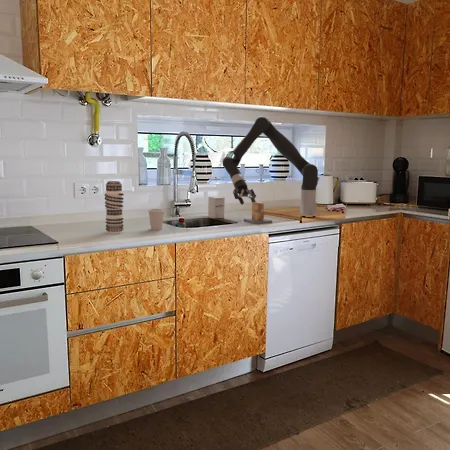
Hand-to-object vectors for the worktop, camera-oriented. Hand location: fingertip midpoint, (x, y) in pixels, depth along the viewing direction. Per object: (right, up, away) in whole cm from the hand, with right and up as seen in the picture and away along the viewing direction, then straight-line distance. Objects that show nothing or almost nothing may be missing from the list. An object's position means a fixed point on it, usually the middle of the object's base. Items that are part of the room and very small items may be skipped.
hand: (248, 203), depth 281 cm
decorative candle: (-69, -17, -51) cm, 87 cm away
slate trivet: (+5, -11, -9) cm, 15 cm away
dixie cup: (-50, -15, -40) cm, 66 cm away
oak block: (+5, -10, -9) cm, 14 cm away
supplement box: (-20, -8, +5) cm, 22 cm away
